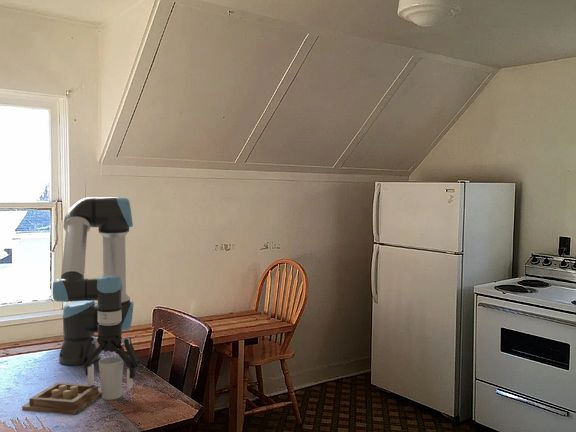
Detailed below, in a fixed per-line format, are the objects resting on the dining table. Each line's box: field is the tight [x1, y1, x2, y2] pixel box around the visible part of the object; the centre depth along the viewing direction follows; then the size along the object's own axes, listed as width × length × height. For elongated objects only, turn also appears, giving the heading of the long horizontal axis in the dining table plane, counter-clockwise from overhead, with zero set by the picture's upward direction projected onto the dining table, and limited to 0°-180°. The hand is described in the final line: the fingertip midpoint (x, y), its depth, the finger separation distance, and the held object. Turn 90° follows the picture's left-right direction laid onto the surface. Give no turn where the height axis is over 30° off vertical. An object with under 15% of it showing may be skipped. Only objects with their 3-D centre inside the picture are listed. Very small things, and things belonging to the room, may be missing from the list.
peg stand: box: [21, 382, 102, 415], centre depth 185 cm, size 18×18×4 cm
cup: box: [97, 356, 125, 400], centre depth 190 cm, size 8×8×12 cm
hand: (110, 386), depth 190 cm, fingers open, 13 cm apart
